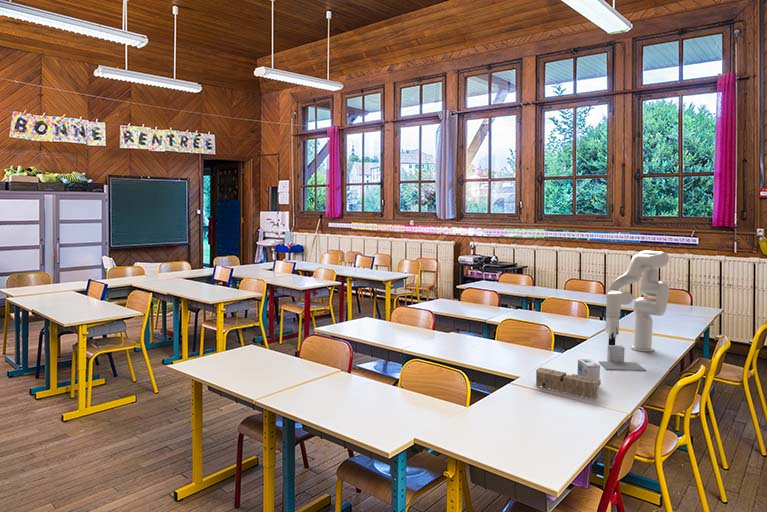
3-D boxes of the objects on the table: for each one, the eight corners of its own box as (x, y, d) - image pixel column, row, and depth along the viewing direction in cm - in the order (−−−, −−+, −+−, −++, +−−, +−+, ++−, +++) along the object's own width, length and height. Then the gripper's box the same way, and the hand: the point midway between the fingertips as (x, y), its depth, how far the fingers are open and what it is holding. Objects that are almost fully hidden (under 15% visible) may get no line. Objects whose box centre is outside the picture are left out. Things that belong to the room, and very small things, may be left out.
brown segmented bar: (533, 387, 259) (594, 400, 240) (533, 370, 258) (594, 382, 239) (540, 383, 265) (600, 395, 246) (540, 367, 264) (600, 377, 245)
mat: (598, 362, 298) (598, 361, 297) (636, 363, 296) (636, 362, 296) (606, 369, 284) (606, 368, 284) (645, 371, 282) (645, 369, 282)
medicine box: (621, 360, 301) (622, 345, 301) (624, 362, 297) (624, 347, 296) (606, 360, 302) (607, 345, 301) (609, 362, 298) (610, 347, 297)
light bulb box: (576, 380, 267) (577, 359, 266) (589, 379, 268) (590, 358, 267) (586, 387, 257) (587, 365, 256) (599, 386, 257) (600, 365, 256)
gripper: (602, 311, 312) (601, 342, 314) (610, 316, 297) (609, 348, 299) (615, 311, 311) (614, 342, 313) (624, 316, 296) (623, 349, 298)
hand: (611, 345), depth 306 cm, fingers closed
